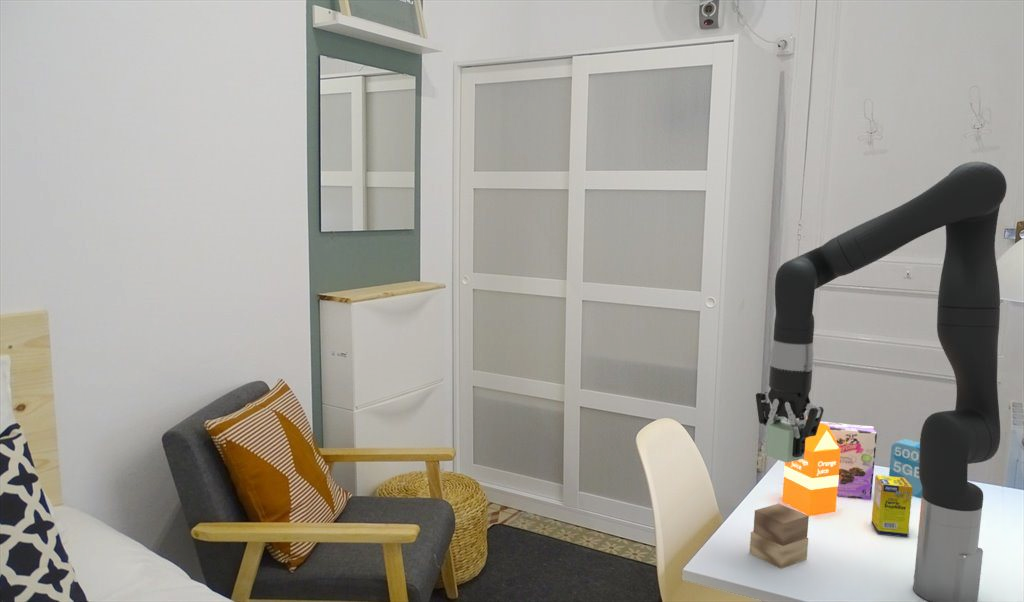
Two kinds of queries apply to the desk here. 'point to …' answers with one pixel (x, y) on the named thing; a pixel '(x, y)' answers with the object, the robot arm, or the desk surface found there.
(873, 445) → the candy box
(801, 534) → the walnut block
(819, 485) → the orange juice
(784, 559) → the oak block
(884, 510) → the supplement box
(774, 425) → the green block
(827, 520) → the desk surface
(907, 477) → the data package
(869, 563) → the desk surface
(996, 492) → the desk surface
